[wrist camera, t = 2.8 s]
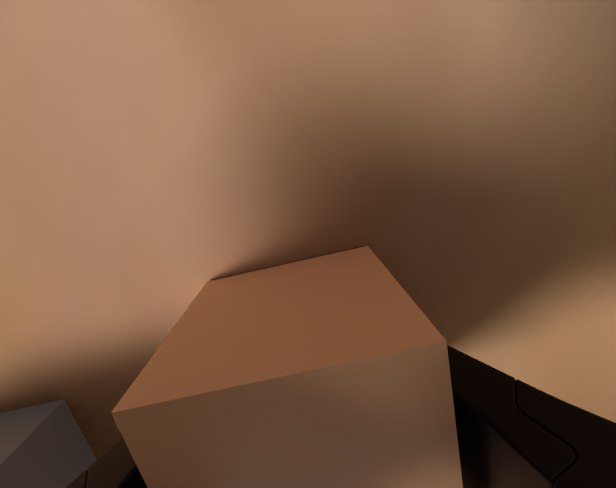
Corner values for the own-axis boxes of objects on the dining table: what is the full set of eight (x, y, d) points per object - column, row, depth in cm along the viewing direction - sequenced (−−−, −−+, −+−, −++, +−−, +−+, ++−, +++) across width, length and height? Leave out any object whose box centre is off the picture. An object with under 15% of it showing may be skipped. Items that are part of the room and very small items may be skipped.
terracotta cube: (250, 411, 11) (213, 620, 6) (206, 281, 9) (110, 412, 4) (391, 381, 10) (472, 569, 6) (367, 245, 9) (446, 341, 4)
